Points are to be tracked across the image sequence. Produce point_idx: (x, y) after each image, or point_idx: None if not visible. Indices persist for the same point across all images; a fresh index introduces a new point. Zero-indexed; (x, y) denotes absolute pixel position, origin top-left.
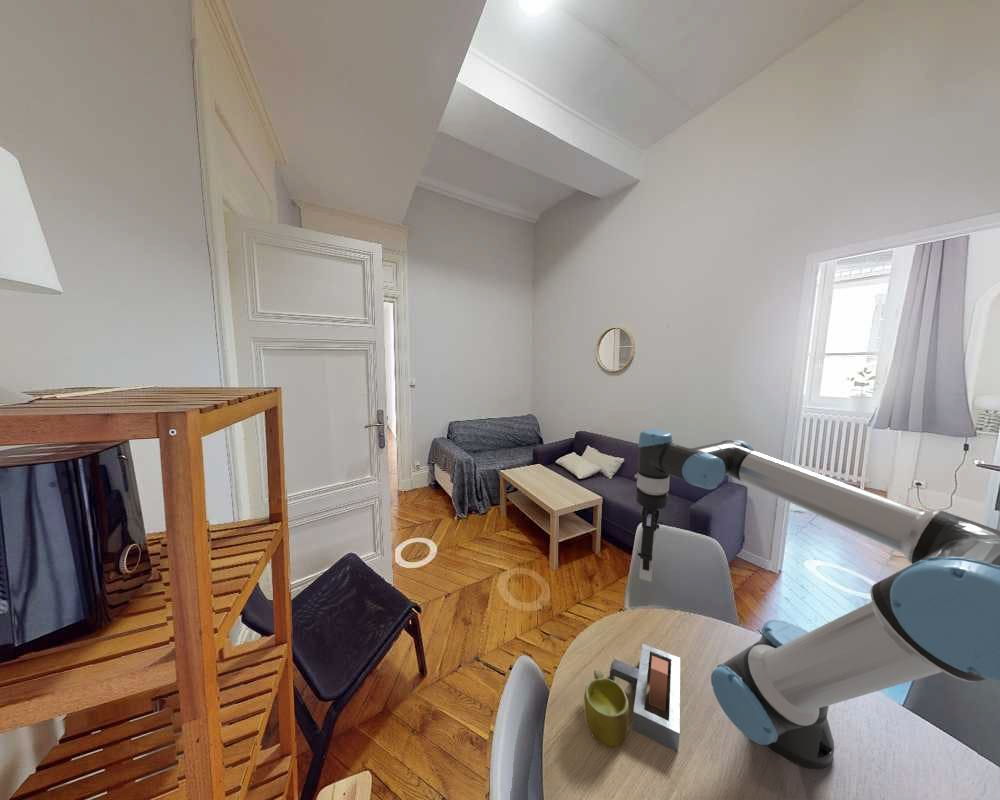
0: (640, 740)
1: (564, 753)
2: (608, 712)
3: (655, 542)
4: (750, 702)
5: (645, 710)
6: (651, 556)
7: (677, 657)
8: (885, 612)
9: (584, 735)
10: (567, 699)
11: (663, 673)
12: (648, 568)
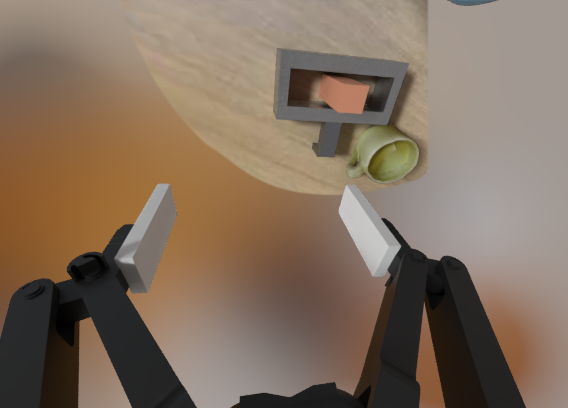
0: None
1: None
2: (393, 152)
3: (157, 209)
4: None
5: (384, 110)
6: (469, 275)
7: (282, 55)
8: None
9: None
10: (354, 184)
11: (367, 92)
12: (392, 226)
